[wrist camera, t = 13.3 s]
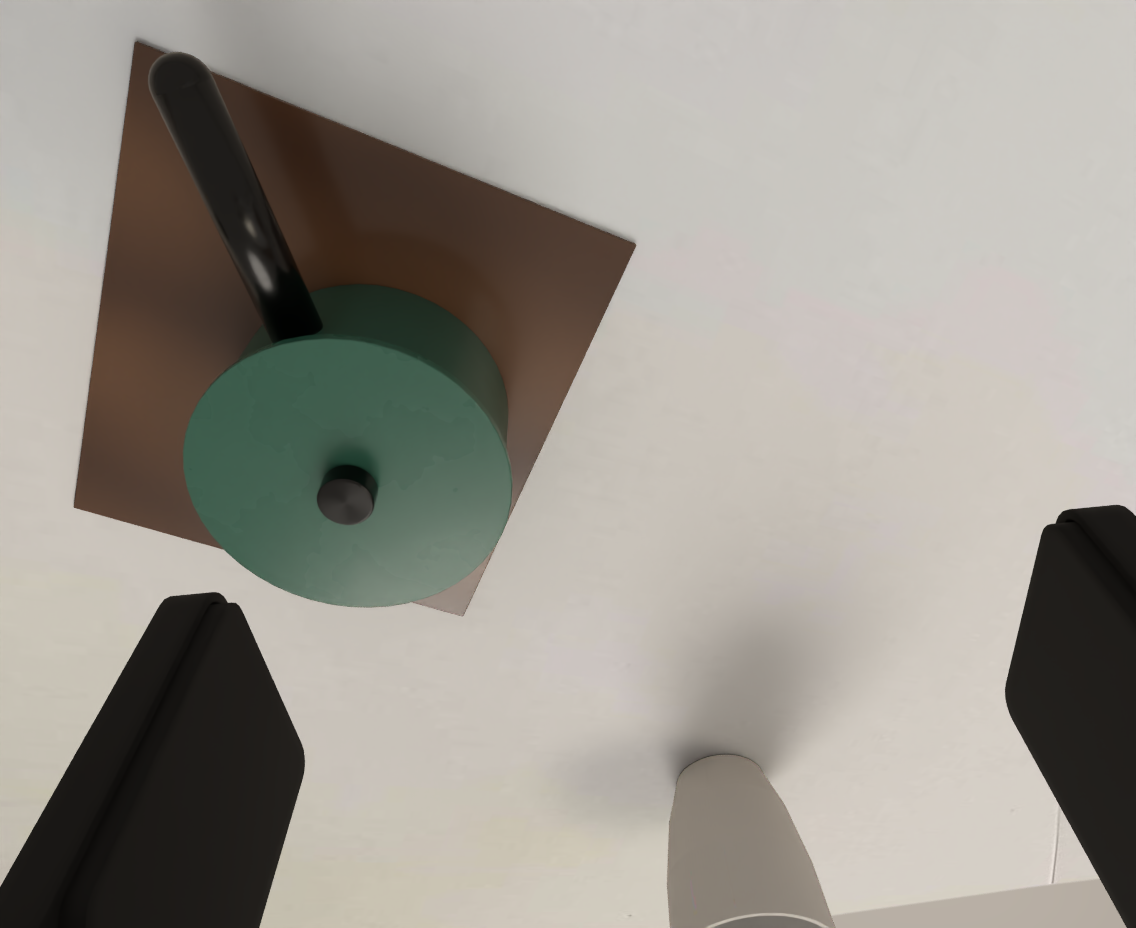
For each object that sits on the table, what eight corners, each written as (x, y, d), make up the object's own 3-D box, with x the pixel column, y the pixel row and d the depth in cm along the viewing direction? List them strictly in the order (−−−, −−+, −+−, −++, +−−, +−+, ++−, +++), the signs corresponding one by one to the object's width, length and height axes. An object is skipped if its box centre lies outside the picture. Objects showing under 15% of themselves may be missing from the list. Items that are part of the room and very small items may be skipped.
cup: (657, 832, 52) (680, 1010, 43) (642, 745, 47) (665, 924, 39) (791, 816, 51) (840, 993, 43) (789, 727, 47) (843, 904, 39)
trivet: (138, 40, 28) (134, 41, 28) (635, 242, 32) (636, 245, 32) (76, 503, 38) (73, 507, 38) (463, 612, 42) (462, 616, 42)
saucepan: (302, 546, 39) (263, 651, 34) (50, 84, 28) (-68, 126, 23) (547, 491, 38) (548, 590, 32) (381, -16, 27) (341, 4, 22)
